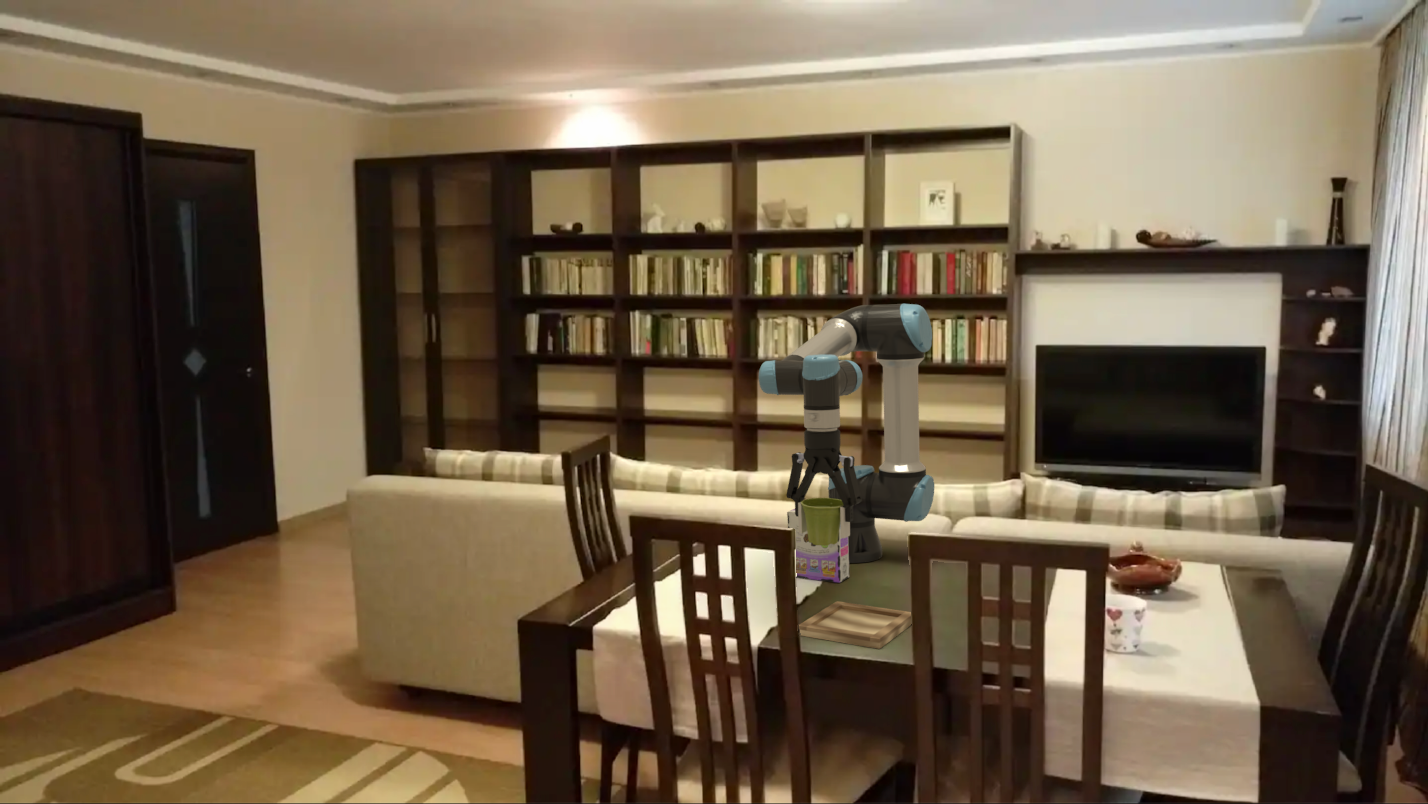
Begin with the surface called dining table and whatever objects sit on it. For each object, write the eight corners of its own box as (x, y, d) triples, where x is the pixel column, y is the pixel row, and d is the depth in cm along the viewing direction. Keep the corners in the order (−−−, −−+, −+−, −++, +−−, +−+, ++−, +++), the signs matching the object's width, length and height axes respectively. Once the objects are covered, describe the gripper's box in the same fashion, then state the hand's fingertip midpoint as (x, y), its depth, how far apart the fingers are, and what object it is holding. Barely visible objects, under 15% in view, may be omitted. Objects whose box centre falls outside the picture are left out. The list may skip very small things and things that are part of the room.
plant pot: (842, 549, 218) (843, 508, 217) (797, 546, 220) (797, 505, 219) (847, 538, 227) (848, 498, 226) (804, 535, 229) (804, 496, 228)
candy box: (850, 577, 255) (849, 510, 253) (839, 583, 250) (838, 515, 248) (799, 570, 262) (797, 505, 260) (788, 576, 257) (786, 510, 255)
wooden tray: (837, 609, 231) (836, 601, 230) (914, 621, 221) (914, 612, 221) (797, 634, 215) (797, 625, 215) (879, 648, 206) (879, 638, 206)
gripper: (767, 428, 224) (770, 532, 226) (861, 433, 211) (863, 543, 214) (785, 424, 230) (788, 525, 232) (878, 429, 218) (879, 536, 220)
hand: (824, 534), depth 223 cm, fingers closed on plant pot, 9 cm apart
